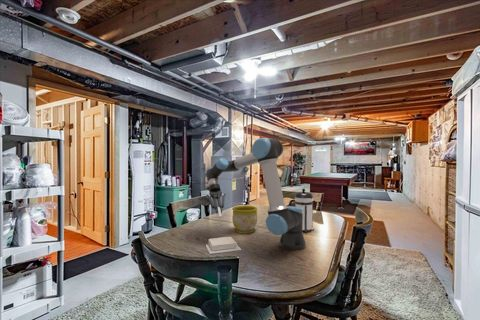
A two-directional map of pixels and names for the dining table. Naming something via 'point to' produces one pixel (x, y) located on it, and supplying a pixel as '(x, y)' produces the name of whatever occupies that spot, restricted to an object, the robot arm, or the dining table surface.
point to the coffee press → (305, 208)
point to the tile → (222, 243)
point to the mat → (222, 250)
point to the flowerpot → (244, 218)
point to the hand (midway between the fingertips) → (220, 217)
